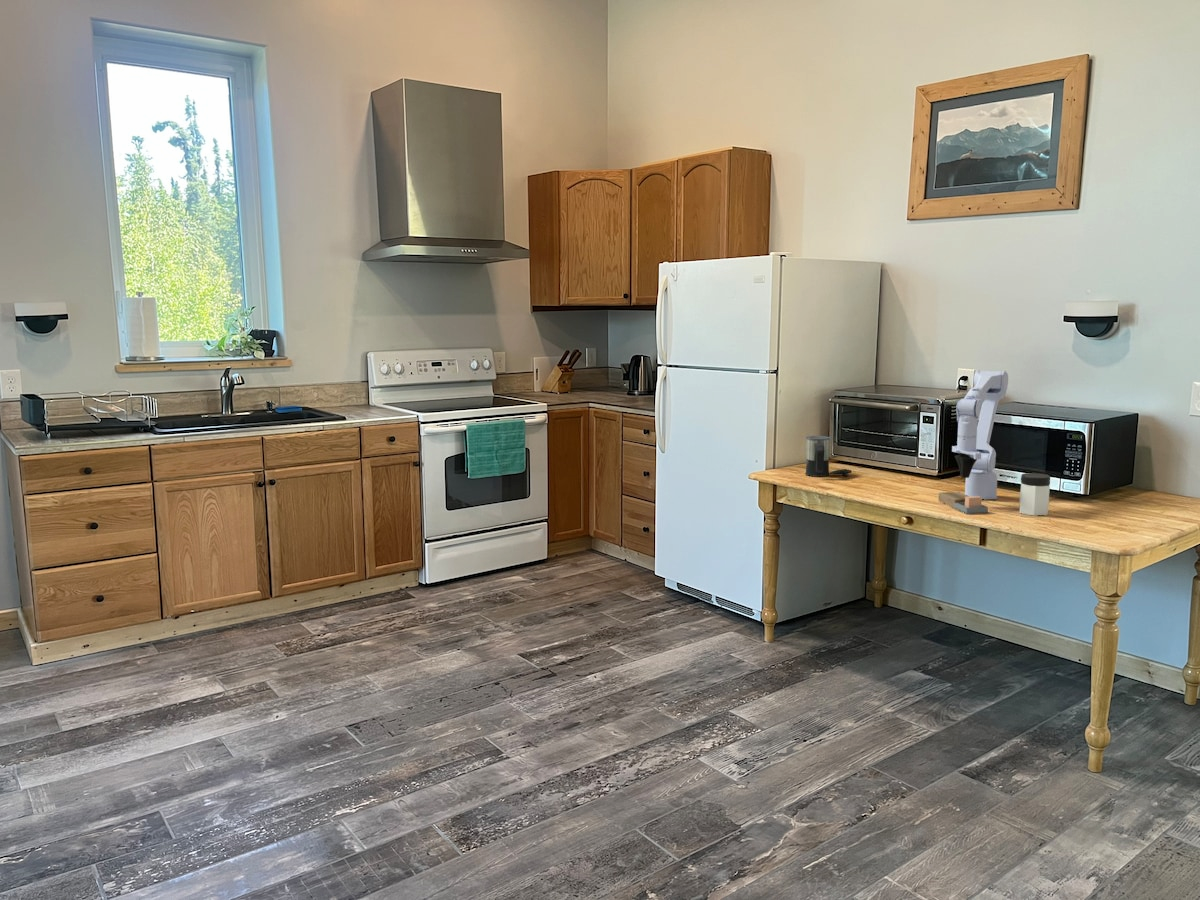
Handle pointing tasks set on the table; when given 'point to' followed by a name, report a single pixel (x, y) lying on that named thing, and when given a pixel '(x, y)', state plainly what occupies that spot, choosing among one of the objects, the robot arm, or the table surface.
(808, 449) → the milk frother
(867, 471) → the table surface
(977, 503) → the peach flat square block
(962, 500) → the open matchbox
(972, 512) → the tray
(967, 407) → the robot arm
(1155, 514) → the table surface
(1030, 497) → the jar
